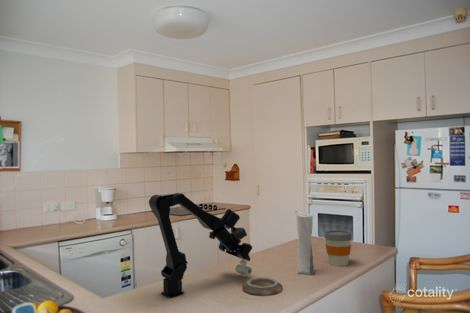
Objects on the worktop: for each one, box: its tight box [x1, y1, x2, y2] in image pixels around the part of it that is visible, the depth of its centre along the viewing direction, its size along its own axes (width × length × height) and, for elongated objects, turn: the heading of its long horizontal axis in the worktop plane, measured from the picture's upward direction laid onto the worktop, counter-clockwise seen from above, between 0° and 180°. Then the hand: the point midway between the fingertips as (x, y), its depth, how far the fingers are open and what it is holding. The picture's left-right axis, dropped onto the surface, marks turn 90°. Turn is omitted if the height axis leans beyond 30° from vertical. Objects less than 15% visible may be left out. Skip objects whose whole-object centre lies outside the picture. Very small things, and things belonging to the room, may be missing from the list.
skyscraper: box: [295, 210, 317, 276], centre depth 173 cm, size 8×8×28 cm
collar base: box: [241, 276, 283, 297], centre depth 152 cm, size 16×16×2 cm
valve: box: [234, 258, 253, 276], centre depth 168 cm, size 7×7×12 cm
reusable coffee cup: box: [324, 229, 352, 267], centre depth 186 cm, size 13×13×15 cm
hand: (245, 258), depth 169 cm, fingers closed on valve, 5 cm apart
